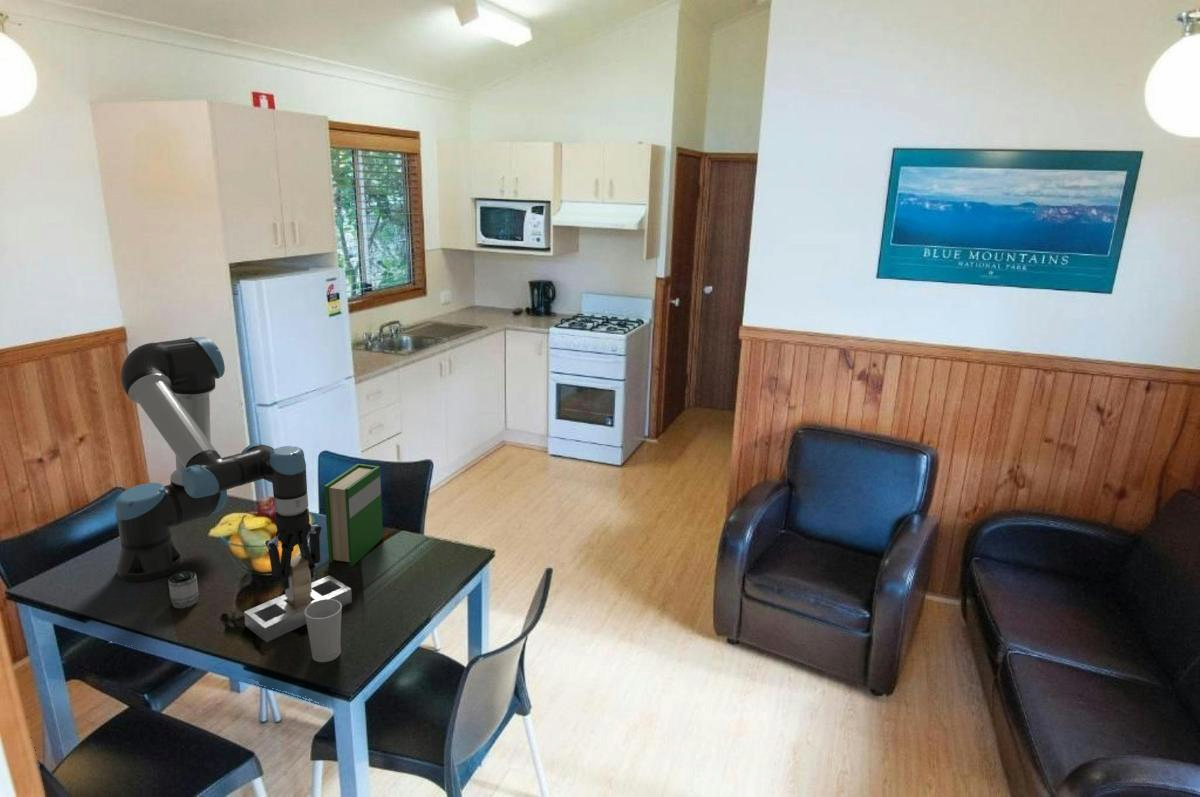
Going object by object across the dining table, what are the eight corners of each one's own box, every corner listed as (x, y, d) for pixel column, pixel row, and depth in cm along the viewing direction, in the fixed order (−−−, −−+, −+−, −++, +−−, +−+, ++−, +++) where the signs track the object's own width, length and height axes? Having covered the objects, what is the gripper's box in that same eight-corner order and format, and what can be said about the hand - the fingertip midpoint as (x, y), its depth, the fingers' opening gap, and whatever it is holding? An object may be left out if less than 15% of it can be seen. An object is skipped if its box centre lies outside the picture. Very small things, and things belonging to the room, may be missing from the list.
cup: (332, 638, 169) (329, 595, 166) (351, 653, 164) (348, 608, 161) (301, 653, 163) (297, 608, 160) (319, 669, 158) (316, 623, 155)
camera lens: (180, 612, 176) (176, 584, 174) (166, 603, 180) (162, 576, 177) (204, 600, 182) (201, 573, 179) (190, 592, 185) (187, 566, 182)
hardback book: (352, 566, 202) (348, 489, 195) (329, 562, 203) (323, 485, 196) (382, 538, 218) (379, 466, 211) (361, 534, 219) (357, 463, 213)
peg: (287, 603, 177) (284, 561, 174) (302, 597, 180) (299, 555, 177) (296, 609, 175) (292, 567, 171) (311, 603, 178) (308, 560, 174)
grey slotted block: (245, 625, 172) (243, 611, 171) (330, 588, 190) (329, 575, 189) (266, 642, 167) (264, 628, 165) (351, 602, 184) (351, 588, 183)
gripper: (265, 526, 161) (273, 614, 168) (332, 503, 174) (337, 586, 181) (249, 516, 166) (257, 602, 172) (315, 494, 179) (321, 575, 185)
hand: (298, 594), depth 177 cm, fingers closed on peg, 4 cm apart
